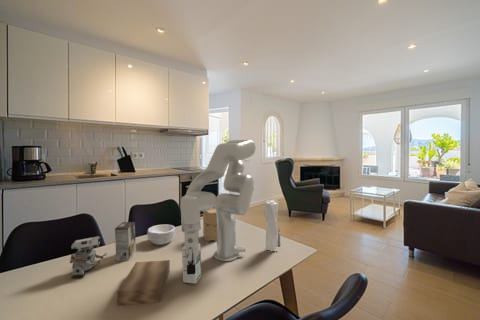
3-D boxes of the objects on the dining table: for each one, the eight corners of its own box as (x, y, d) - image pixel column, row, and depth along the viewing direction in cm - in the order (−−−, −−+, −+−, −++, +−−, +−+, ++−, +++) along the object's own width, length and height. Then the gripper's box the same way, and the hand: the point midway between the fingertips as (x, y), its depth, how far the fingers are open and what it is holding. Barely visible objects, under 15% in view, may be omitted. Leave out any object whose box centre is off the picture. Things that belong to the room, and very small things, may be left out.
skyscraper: (278, 254, 115) (278, 200, 114) (263, 251, 118) (263, 199, 116) (280, 247, 123) (281, 197, 122) (266, 245, 126) (266, 196, 124)
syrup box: (196, 284, 88) (195, 248, 87) (182, 282, 89) (181, 247, 88) (201, 275, 94) (200, 242, 93) (188, 274, 95) (187, 241, 94)
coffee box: (123, 252, 116) (122, 221, 116) (136, 251, 117) (135, 221, 116) (115, 261, 107) (114, 228, 106) (129, 260, 108) (128, 227, 107)
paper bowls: (180, 240, 132) (180, 226, 132) (159, 249, 119) (159, 235, 119) (163, 234, 140) (163, 222, 140) (142, 243, 128) (141, 229, 127)
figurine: (98, 276, 94) (97, 242, 93) (67, 279, 92) (66, 243, 92) (107, 265, 103) (106, 233, 102) (80, 267, 101) (78, 235, 101)
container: (225, 240, 132) (225, 210, 131) (204, 242, 128) (204, 212, 127) (221, 232, 144) (221, 205, 143) (201, 234, 140) (201, 206, 139)
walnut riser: (169, 271, 99) (169, 260, 98) (159, 301, 79) (159, 288, 79) (136, 273, 97) (136, 262, 96) (117, 305, 77) (117, 291, 77)
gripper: (199, 233, 82) (200, 280, 83) (201, 218, 99) (201, 257, 100) (178, 235, 81) (179, 282, 82) (183, 219, 98) (184, 258, 99)
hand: (192, 268), depth 91 cm, fingers closed on syrup box, 7 cm apart
